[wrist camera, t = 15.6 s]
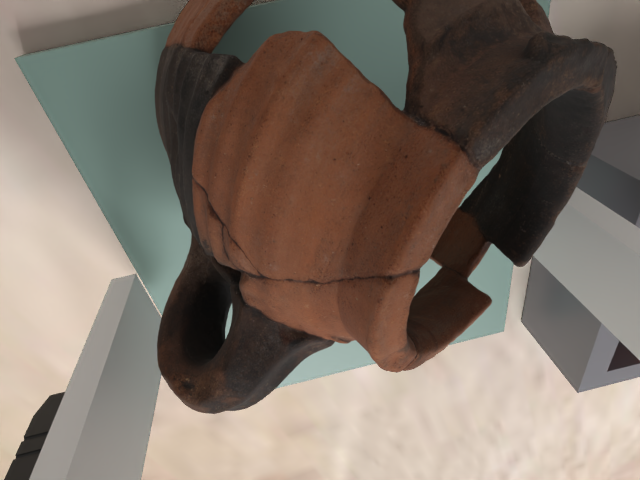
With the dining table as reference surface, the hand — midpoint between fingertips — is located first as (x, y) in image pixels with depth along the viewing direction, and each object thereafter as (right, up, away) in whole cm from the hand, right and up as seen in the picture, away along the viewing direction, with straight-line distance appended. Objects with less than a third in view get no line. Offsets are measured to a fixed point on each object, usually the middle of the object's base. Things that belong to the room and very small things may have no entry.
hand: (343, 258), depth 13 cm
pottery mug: (-1, +3, -1) cm, 4 cm away
